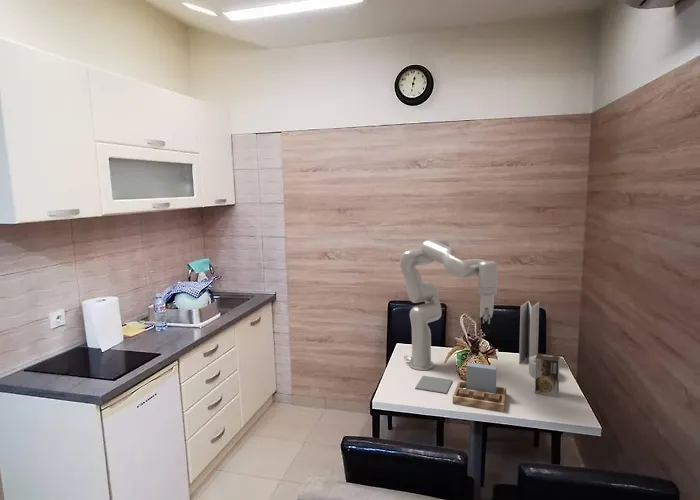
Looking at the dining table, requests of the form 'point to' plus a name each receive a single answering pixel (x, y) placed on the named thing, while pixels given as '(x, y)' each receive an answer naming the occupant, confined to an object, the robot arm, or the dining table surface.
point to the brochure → (528, 330)
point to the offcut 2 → (478, 395)
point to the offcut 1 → (464, 393)
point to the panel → (481, 377)
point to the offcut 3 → (494, 398)
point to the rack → (480, 403)
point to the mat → (434, 384)
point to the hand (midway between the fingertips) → (487, 329)
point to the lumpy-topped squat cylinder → (532, 366)
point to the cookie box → (547, 375)
